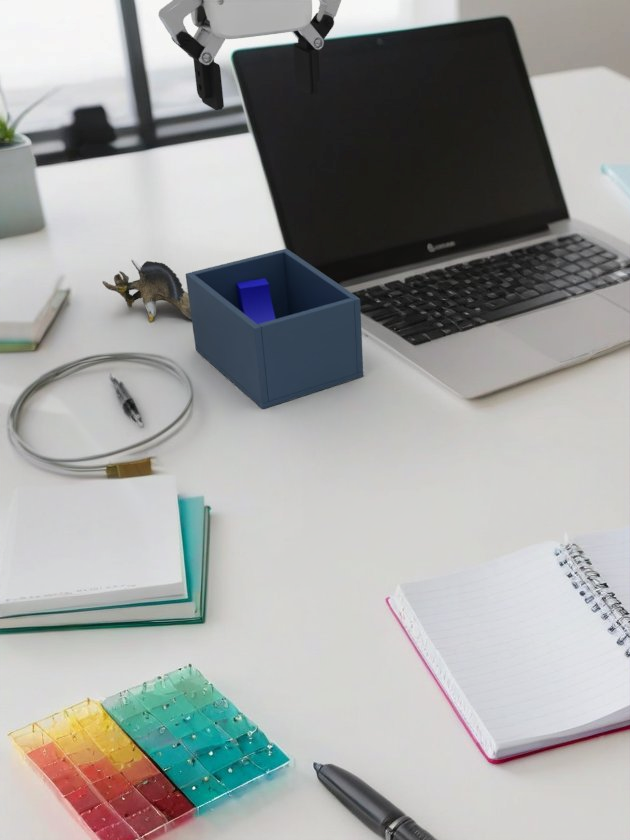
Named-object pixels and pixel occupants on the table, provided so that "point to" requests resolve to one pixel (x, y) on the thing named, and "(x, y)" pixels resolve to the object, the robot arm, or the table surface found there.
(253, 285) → the cable clip
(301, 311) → the basket
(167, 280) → the eagle figurine
